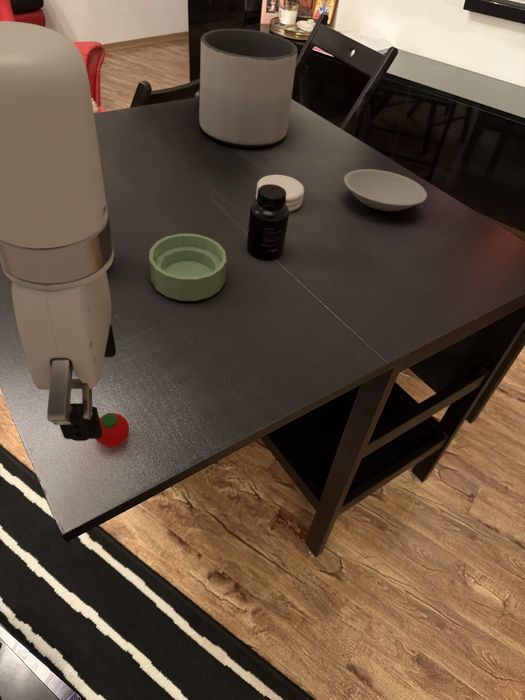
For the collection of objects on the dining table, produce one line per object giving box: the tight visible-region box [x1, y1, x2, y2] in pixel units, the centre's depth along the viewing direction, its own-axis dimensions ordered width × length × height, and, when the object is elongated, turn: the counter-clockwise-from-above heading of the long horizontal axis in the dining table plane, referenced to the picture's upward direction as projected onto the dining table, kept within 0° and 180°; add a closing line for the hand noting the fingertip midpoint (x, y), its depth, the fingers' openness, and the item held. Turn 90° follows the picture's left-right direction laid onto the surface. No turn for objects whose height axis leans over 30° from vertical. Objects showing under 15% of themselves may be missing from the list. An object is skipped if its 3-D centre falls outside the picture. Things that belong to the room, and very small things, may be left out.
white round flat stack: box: [255, 174, 305, 213], centre depth 100 cm, size 10×10×4 cm
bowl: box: [148, 233, 227, 302], centre depth 79 cm, size 12×12×5 cm
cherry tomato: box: [95, 412, 130, 448], centre depth 57 cm, size 4×4×4 cm
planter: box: [198, 28, 298, 149], centre depth 116 cm, size 23×23×20 cm
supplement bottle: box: [246, 184, 290, 261], centre depth 84 cm, size 7×7×12 cm
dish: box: [343, 168, 428, 212], centre depth 102 cm, size 18×14×5 cm
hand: (92, 392), depth 45 cm, fingers open, 9 cm apart
